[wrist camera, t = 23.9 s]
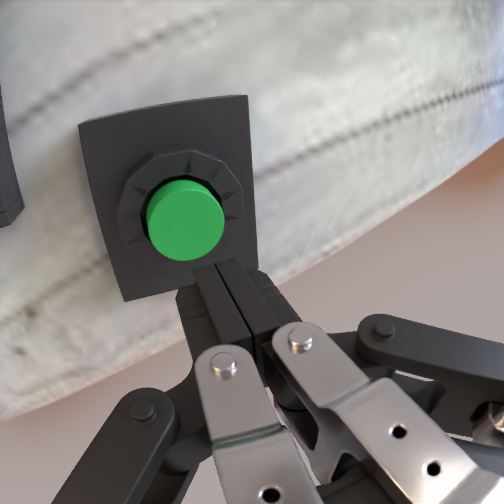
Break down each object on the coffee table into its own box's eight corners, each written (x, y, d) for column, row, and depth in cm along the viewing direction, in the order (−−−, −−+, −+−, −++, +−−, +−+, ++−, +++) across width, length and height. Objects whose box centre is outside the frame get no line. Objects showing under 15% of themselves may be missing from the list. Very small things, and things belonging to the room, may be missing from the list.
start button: (140, 187, 14) (141, 198, 13) (211, 173, 15) (220, 182, 14) (154, 252, 16) (157, 268, 15) (218, 237, 17) (228, 251, 16)
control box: (84, 121, 15) (70, 127, 11) (235, 94, 17) (260, 95, 14) (123, 283, 20) (125, 320, 17) (247, 253, 23) (269, 283, 19)
